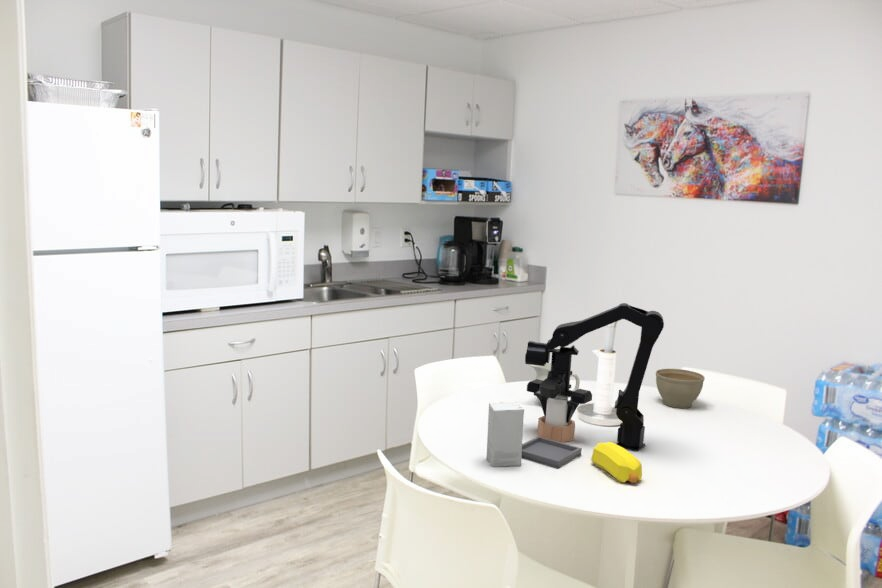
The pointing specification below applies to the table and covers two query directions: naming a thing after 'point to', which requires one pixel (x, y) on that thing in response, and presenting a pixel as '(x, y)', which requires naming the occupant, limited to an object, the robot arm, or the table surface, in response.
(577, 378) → the pitcher
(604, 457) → the yellow faceted block
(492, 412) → the skincare box
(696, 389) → the planter bowl
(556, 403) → the can
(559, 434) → the ring
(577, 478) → the table surface
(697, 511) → the table surface
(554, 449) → the tray
